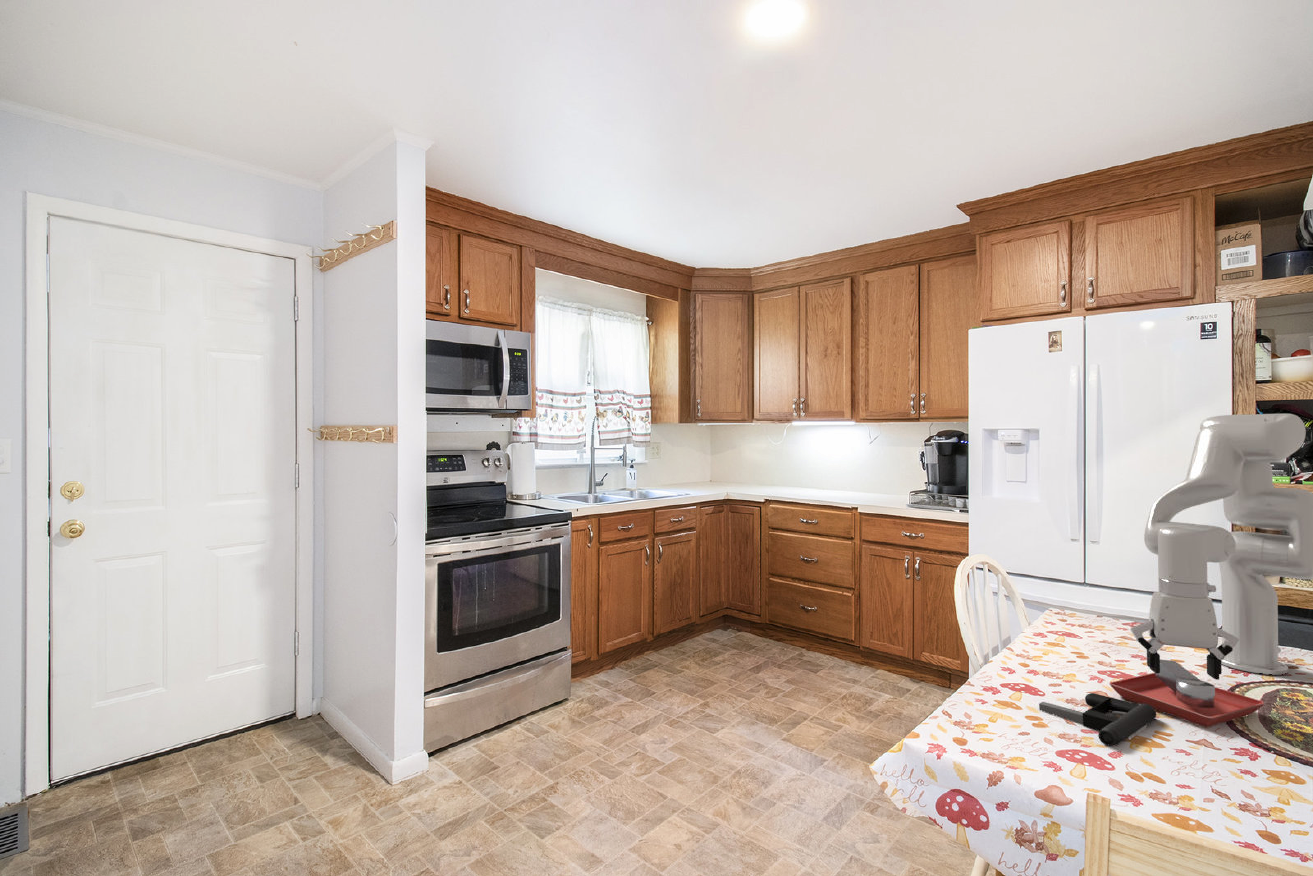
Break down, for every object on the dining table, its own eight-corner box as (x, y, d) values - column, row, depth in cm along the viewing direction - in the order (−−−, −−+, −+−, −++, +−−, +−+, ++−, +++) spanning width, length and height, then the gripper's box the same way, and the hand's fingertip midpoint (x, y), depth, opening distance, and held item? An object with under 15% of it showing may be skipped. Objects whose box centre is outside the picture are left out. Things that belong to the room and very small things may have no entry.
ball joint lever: (1149, 675, 131) (1149, 658, 131) (1181, 678, 129) (1181, 661, 129) (1184, 705, 116) (1184, 686, 116) (1221, 710, 114) (1221, 691, 114)
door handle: (1024, 706, 117) (1123, 734, 104) (1070, 683, 129) (1165, 706, 115) (1025, 724, 117) (1125, 754, 104) (1071, 699, 128) (1166, 724, 115)
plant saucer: (1107, 697, 128) (1106, 681, 128) (1161, 684, 134) (1161, 669, 134) (1211, 736, 111) (1210, 718, 111) (1267, 719, 117) (1267, 702, 117)
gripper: (1226, 588, 123) (1227, 673, 123) (1123, 581, 129) (1124, 662, 129) (1247, 597, 116) (1248, 687, 116) (1138, 590, 122) (1138, 675, 122)
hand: (1183, 674), depth 122 cm, fingers open, 9 cm apart
